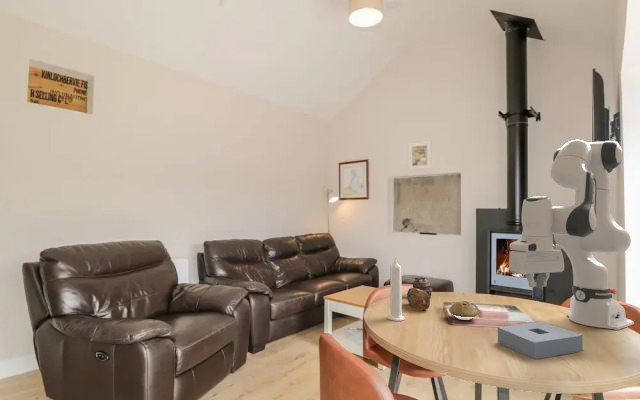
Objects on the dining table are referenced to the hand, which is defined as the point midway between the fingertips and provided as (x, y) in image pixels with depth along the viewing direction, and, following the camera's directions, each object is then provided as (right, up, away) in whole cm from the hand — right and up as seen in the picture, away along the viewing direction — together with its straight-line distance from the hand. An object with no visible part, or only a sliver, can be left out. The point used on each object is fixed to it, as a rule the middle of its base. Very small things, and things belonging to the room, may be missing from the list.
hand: (537, 286), depth 113 cm
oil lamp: (-12, -21, +29) cm, 38 cm away
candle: (-40, -21, +29) cm, 54 cm away
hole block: (0, -20, 0) cm, 20 cm away
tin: (-27, -21, +45) cm, 56 cm away
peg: (0, -4, 0) cm, 4 cm away
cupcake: (-19, -22, +63) cm, 70 cm away
